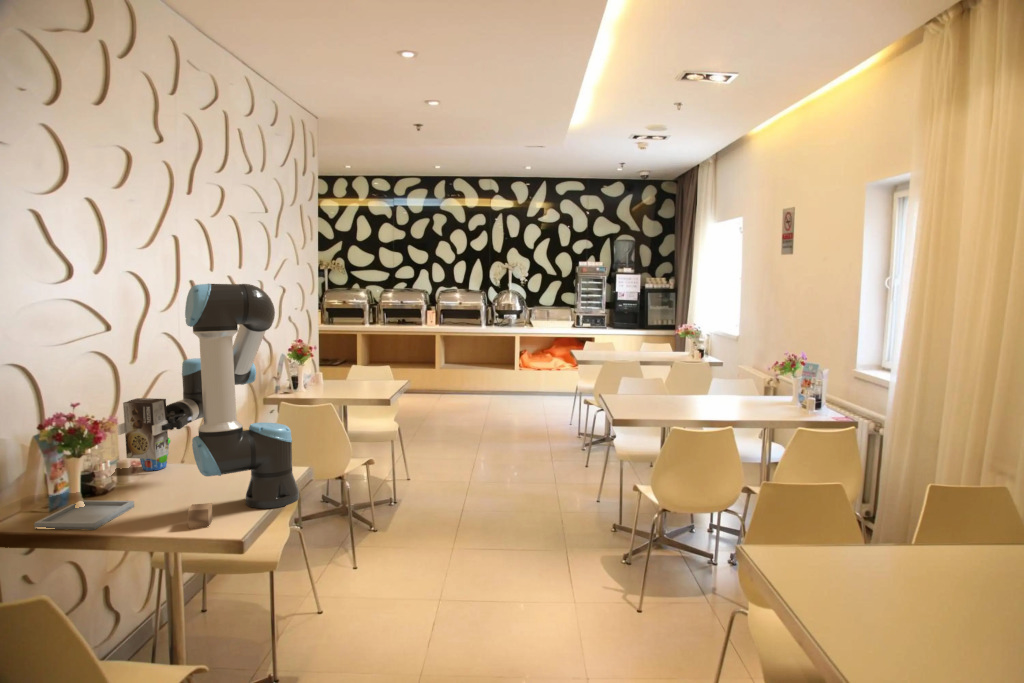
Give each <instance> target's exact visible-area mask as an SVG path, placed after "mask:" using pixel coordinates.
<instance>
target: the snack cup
mask: <svg viewBox="0 0 1024 683" xmlns="http://www.w3.org/2000/svg"><path fill="white" fill-rule="evenodd" d="M170 444H171V439H170V437H168V450H169V446H170ZM168 455H169V454H167V455H164V456H162V457H159V458H157V459H140V458H139V461H140V466H141V468H142V470H143V471H146V472H149V471H150V472H151V471H152V472H153V470H154V471H160V470H162V469H165V468H167V464H168V459H169V458H168Z"/></svg>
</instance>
